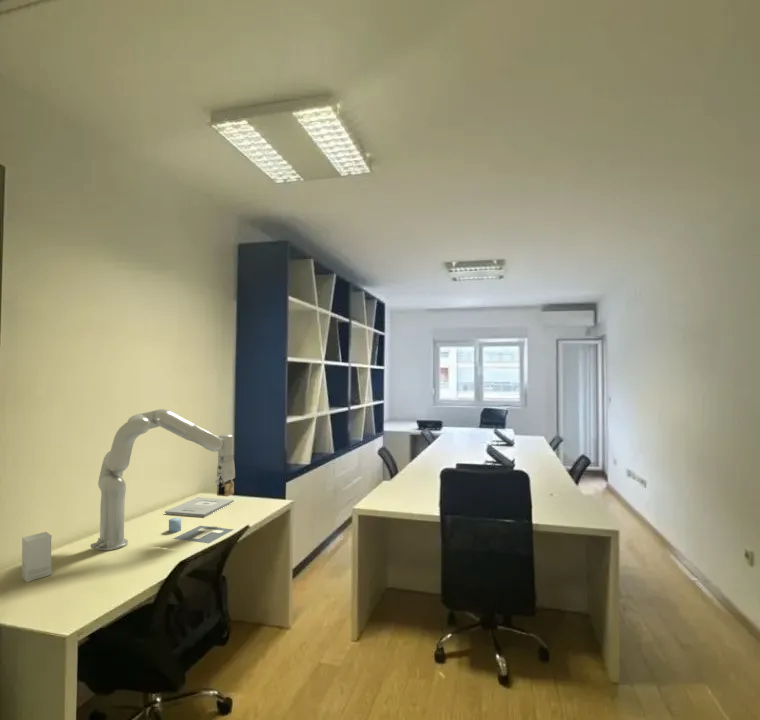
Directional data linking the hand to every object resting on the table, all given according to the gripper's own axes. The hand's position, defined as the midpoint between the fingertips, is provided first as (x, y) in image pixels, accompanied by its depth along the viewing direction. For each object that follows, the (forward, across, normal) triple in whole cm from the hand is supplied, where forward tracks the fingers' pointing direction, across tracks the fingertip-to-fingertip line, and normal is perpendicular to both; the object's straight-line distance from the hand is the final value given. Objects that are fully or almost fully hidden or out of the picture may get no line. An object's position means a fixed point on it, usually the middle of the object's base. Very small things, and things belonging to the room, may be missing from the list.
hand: (225, 492), depth 246 cm
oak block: (+1, 0, 0) cm, 1 cm away
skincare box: (+16, -76, +31) cm, 84 cm away
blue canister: (+16, -18, +16) cm, 29 cm away
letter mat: (+16, -18, -1) cm, 24 cm away
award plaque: (+17, +20, +30) cm, 40 cm away
